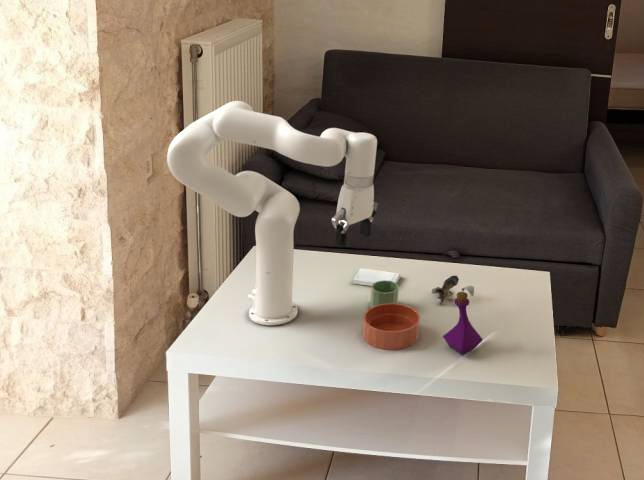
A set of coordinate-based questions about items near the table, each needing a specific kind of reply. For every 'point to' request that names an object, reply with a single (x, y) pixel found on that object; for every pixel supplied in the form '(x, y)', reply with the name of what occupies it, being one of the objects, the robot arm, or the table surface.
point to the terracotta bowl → (391, 326)
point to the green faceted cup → (384, 293)
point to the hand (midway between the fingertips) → (353, 240)
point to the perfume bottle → (463, 327)
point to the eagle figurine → (446, 288)
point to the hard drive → (374, 277)
